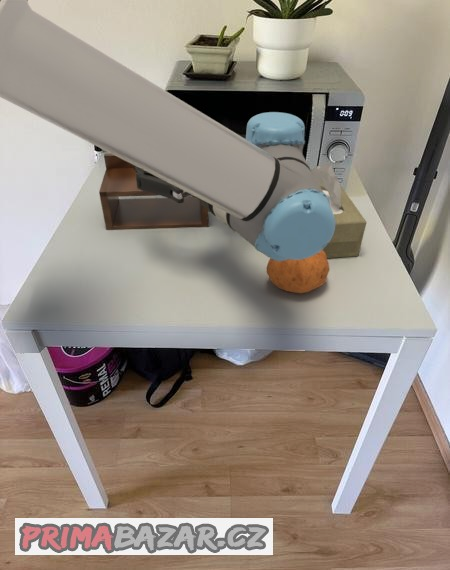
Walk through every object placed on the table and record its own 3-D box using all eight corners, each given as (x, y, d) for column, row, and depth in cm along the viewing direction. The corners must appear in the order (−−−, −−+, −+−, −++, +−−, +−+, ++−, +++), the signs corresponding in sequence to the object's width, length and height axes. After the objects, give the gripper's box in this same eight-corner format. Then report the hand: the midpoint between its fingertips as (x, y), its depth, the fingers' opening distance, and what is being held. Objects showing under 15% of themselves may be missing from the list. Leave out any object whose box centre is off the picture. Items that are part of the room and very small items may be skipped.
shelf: (106, 229, 95) (96, 178, 87) (112, 202, 104) (104, 153, 96) (208, 226, 96) (207, 175, 88) (206, 199, 105) (205, 151, 98)
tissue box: (288, 212, 101) (296, 145, 91) (329, 209, 102) (342, 143, 92) (311, 260, 87) (324, 187, 77) (359, 257, 88) (377, 184, 78)
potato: (330, 303, 77) (337, 269, 73) (266, 301, 78) (269, 267, 73) (322, 270, 84) (328, 238, 80) (263, 269, 85) (266, 236, 80)
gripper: (163, 241, 69) (108, 187, 82) (286, 198, 80) (220, 157, 93) (159, 197, 64) (102, 148, 77) (290, 158, 75) (220, 121, 88)
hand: (166, 153), depth 85 cm, fingers open, 13 cm apart
